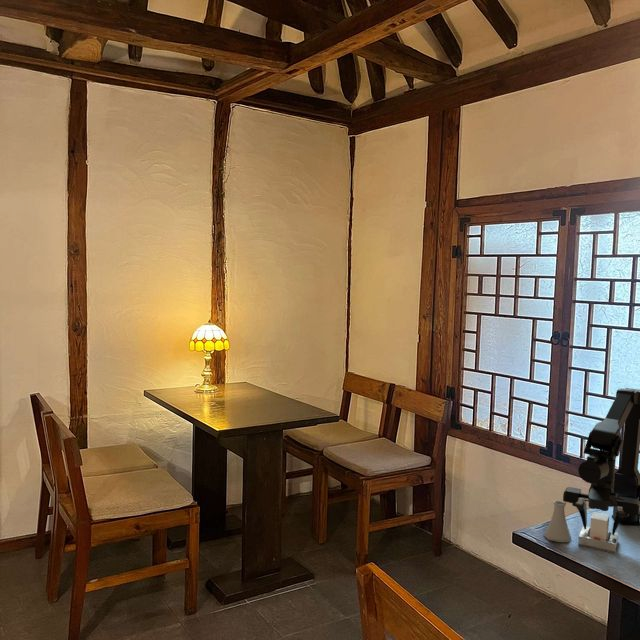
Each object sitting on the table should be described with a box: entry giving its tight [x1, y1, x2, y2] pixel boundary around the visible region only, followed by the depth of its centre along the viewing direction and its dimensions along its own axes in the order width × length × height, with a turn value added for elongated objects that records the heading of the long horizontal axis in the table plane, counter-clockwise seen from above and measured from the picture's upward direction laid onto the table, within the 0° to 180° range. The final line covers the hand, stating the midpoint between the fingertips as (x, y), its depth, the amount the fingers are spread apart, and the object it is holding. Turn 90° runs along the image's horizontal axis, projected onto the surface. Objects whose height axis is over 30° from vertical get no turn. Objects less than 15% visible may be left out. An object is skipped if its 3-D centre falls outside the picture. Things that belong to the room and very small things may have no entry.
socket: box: [577, 525, 619, 554], centre depth 174 cm, size 9×9×3 cm
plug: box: [589, 511, 610, 541], centre depth 174 cm, size 6×4×7 cm
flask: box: [543, 500, 572, 543], centre depth 177 cm, size 7×7×10 cm
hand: (599, 531), depth 174 cm, fingers open, 7 cm apart
